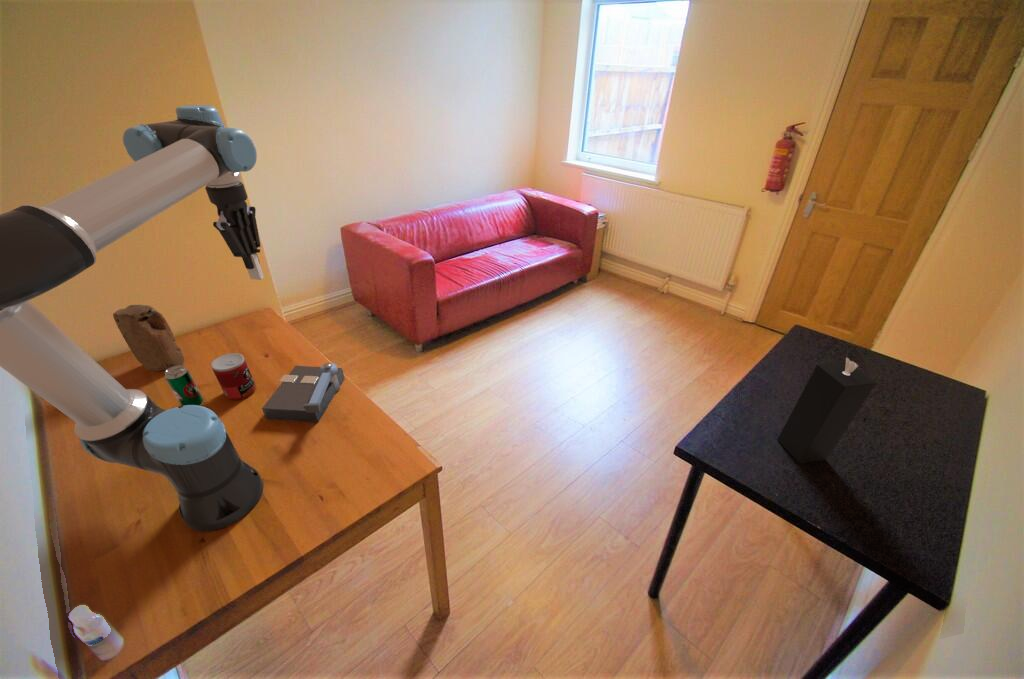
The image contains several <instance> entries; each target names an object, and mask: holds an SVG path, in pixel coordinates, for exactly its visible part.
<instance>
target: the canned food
mask: <svg viewBox="0 0 1024 679" xmlns="http://www.w3.org/2000/svg"><path fill="white" fill-rule="evenodd" d="M210 366H211V370H212V371H213V373H214V376H215V378H216V380H217V381H218V384H219V386H220V387H221V390H222V391H223V394H224V396H225V397H226V398H228V399H229V400H232V401H239V400H243V399H247V398H248V397H250V396H252V395H253V394H254V393H255V391H256V389H257V386H256V382H255V380H254V378H253V375H252V373H251V371H250V368H249V366H248V363H247V361H246V359H245V357H244V355H243V354H241V353H236V352H233V353H225V354H223V355H221V356H218V357H217V358H215V359H213V361H212V362H211V364H210Z"/></svg>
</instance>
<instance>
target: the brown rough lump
mask: <svg viewBox="0 0 1024 679" xmlns="http://www.w3.org/2000/svg"><path fill="white" fill-rule="evenodd" d="M112 316H113V319H114V322H115V324H116V326H117V328H118V329H119V332H120V334H121V336H122V338H123V339H124V341H125V342H126V345H127V346H128V348H129V350H130V351H131V352H132V354H133V356H134V357H135V358H136V360H137V362H138V363H140V364H141V365H142V366H143V367H144V368H145V369H146V370H148V371H151V372H162V371H166V370H167V369H168V368H170V367H173V366H176V365H182V364H183V363H184V362H185V356H184V354H183V352H182V350H181V348H180V346H179V345H178V343H175V342H176V339H175V335H174V333H173V331H172V329H171V327H170V325H169V323H168V322H167V320H166V318H165V317H164V316H163V314H162V313H160V311H158V310H157V309H156V308H154V307H153V306H151V305H144V304H130V305H128V306H127V307H125V308H121V309H118V310H116V311H114V312H113V314H112Z"/></svg>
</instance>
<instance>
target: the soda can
mask: <svg viewBox="0 0 1024 679" xmlns="http://www.w3.org/2000/svg"><path fill="white" fill-rule="evenodd" d="M164 379H165V381H166V382H167V383H168V386H169V388H170V389H171V390H172V393H173V395H174V396H175V398H176V400H177V402H178V403H179V405H180V406H181V408H182V407H183V406H185V405H198V406H201V405H202V404H203V402H204V398H203V395H202V393H201V392H200V390H199V388H198V386H197V384H196V382H195V381H194V378H193V377H192V375H191V373H190V371H189V369H188V367H186V366H184V365H182V364H181V365H176V366H173V367H170V368H168V369H167V370H164Z"/></svg>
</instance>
